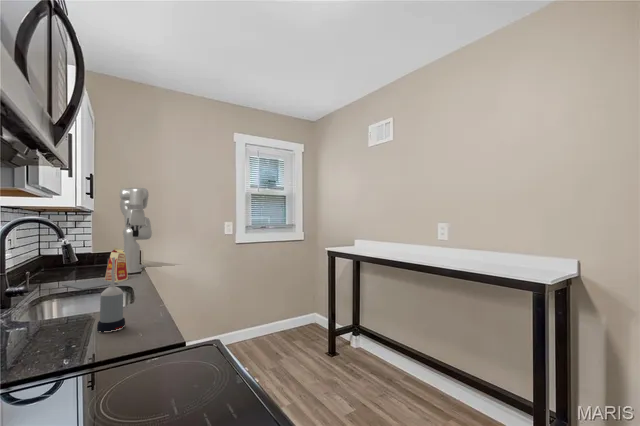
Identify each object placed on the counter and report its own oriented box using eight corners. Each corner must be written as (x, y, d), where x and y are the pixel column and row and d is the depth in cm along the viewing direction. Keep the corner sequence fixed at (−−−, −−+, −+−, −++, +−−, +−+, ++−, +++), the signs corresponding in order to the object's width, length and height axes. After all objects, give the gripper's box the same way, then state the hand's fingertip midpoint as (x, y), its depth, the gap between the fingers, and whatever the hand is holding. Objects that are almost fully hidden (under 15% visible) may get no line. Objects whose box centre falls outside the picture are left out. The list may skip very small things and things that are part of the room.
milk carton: (117, 282, 184) (117, 248, 184) (103, 281, 186) (104, 247, 186) (129, 279, 193) (130, 246, 193) (116, 278, 195) (117, 246, 195)
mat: (97, 280, 189) (97, 279, 189) (117, 283, 180) (117, 282, 180) (62, 285, 173) (62, 284, 173) (82, 289, 164) (82, 288, 164)
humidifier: (119, 332, 106) (121, 258, 107) (92, 333, 105) (94, 259, 105) (128, 324, 114) (130, 255, 115) (103, 325, 113) (105, 256, 113)
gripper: (143, 208, 208) (142, 235, 208) (120, 207, 195) (120, 237, 195) (150, 208, 205) (150, 236, 205) (128, 207, 192) (127, 237, 191)
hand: (135, 236), depth 200 cm, fingers closed
